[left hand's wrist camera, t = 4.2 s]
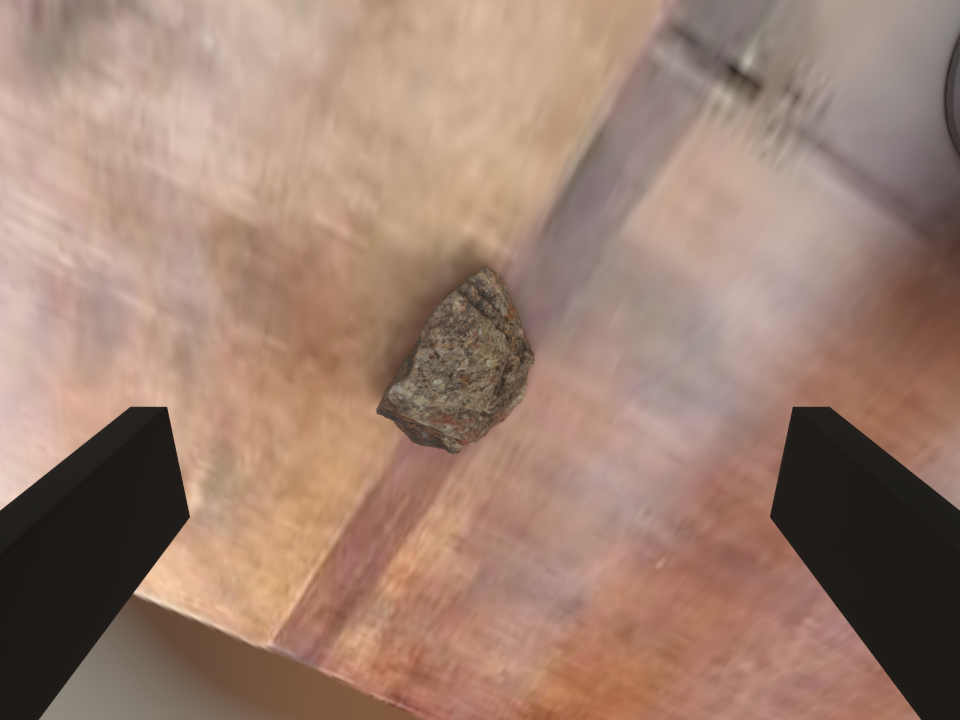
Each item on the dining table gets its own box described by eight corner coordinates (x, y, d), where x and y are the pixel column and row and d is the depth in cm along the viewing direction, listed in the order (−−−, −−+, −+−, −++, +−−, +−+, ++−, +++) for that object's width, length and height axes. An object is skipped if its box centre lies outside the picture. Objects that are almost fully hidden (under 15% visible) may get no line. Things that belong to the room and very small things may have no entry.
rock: (351, 383, 45) (453, 458, 48) (317, 445, 38) (440, 531, 40) (475, 240, 40) (581, 332, 43) (465, 277, 32) (596, 387, 35)
